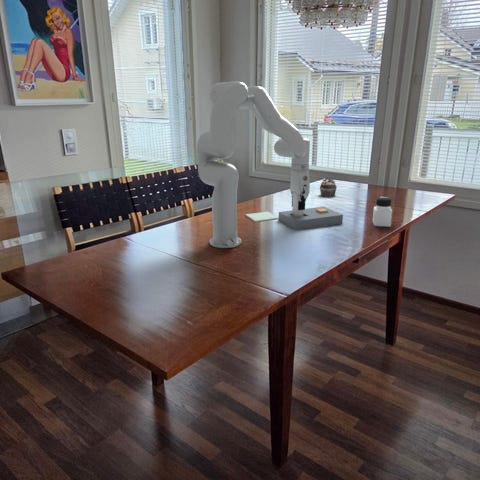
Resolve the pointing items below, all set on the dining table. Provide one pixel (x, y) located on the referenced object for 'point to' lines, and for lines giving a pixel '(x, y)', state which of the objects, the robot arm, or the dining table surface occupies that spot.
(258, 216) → the mat
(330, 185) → the cupcake
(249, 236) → the dining table surface
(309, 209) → the housing
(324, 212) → the tan cube
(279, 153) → the robot arm
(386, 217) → the medicine bottle
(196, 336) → the dining table surface
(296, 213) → the cylinder
